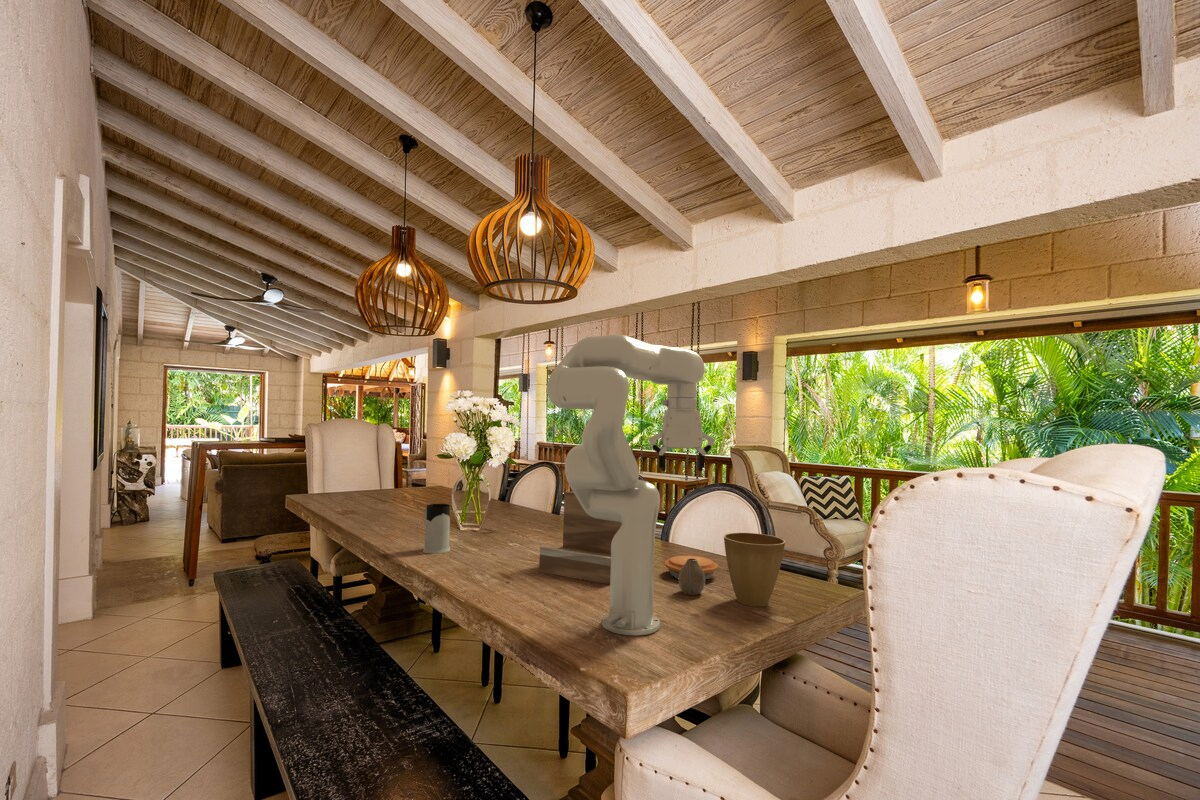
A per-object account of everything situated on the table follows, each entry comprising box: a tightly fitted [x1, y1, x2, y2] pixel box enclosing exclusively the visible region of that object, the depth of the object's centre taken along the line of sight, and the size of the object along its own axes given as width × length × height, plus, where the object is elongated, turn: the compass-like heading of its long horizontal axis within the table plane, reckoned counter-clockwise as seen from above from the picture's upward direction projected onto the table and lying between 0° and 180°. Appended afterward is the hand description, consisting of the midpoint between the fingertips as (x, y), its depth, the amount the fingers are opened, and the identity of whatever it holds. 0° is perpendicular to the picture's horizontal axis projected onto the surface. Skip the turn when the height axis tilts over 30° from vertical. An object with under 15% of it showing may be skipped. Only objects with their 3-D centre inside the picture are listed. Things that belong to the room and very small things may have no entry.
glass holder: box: [422, 503, 451, 555], centre depth 190 cm, size 9×14×15 cm, turn 41°
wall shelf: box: [538, 490, 622, 585], centre depth 165 cm, size 14×24×22 cm, turn 61°
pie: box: [664, 555, 719, 581], centre depth 164 cm, size 15×16×5 cm
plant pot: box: [723, 532, 786, 607], centre depth 141 cm, size 15×15×16 cm
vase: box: [678, 558, 706, 596], centre depth 147 cm, size 7×7×9 cm
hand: (681, 470), depth 146 cm, fingers open, 9 cm apart
